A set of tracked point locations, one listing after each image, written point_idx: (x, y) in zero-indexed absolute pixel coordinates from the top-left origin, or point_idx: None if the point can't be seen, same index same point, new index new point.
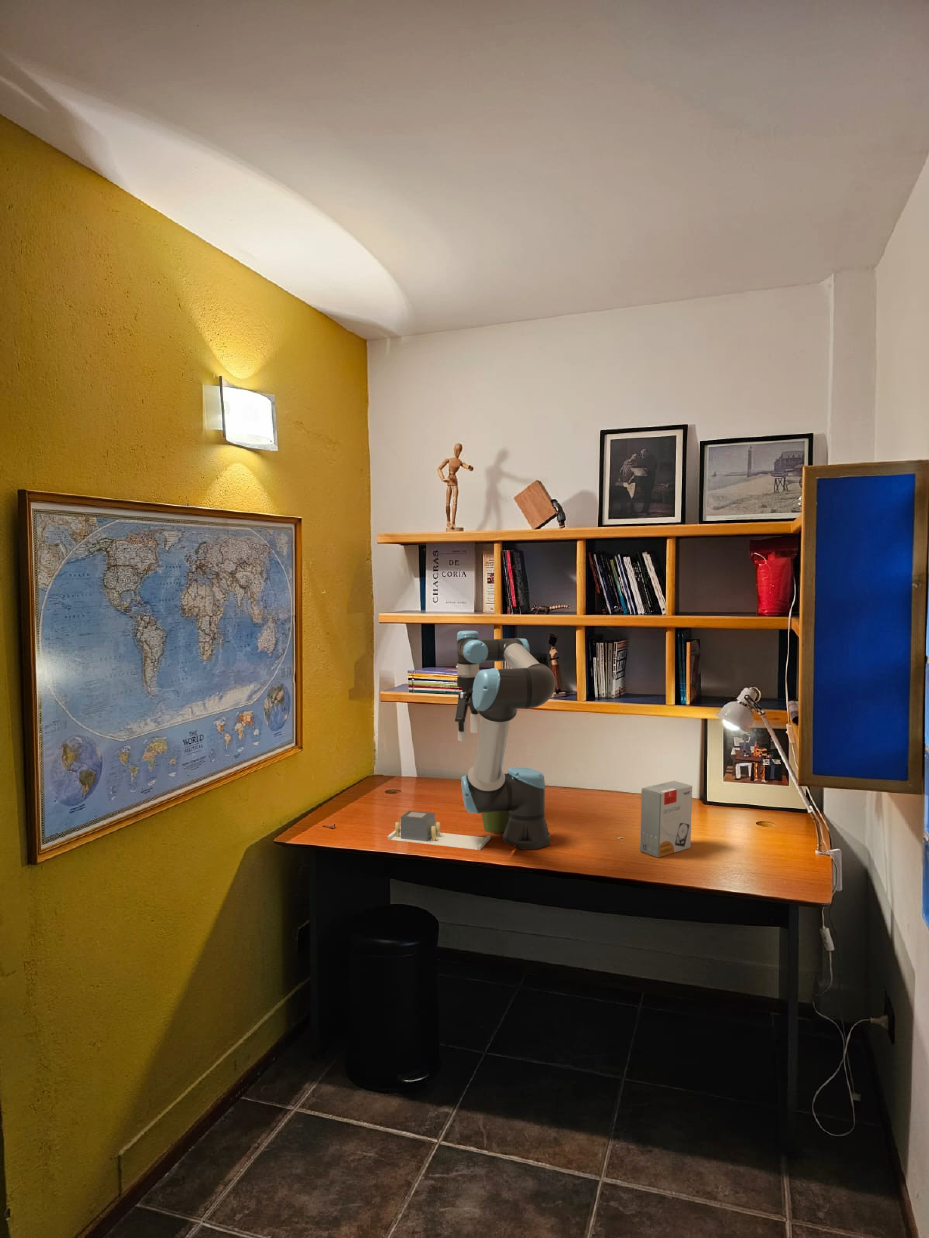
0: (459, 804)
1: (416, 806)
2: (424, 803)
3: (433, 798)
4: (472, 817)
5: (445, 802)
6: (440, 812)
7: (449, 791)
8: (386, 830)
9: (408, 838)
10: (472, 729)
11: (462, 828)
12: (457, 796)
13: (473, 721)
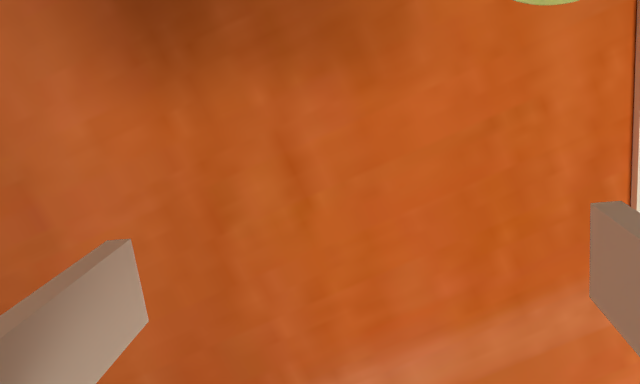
0: (223, 231)
1: (321, 369)
2: (274, 357)
3: (202, 352)
4: (358, 112)
5: (226, 291)
6: (351, 259)
7: None
8: (634, 354)
9: None
10: (126, 315)
11: (512, 91)
12: None
13: (66, 360)
